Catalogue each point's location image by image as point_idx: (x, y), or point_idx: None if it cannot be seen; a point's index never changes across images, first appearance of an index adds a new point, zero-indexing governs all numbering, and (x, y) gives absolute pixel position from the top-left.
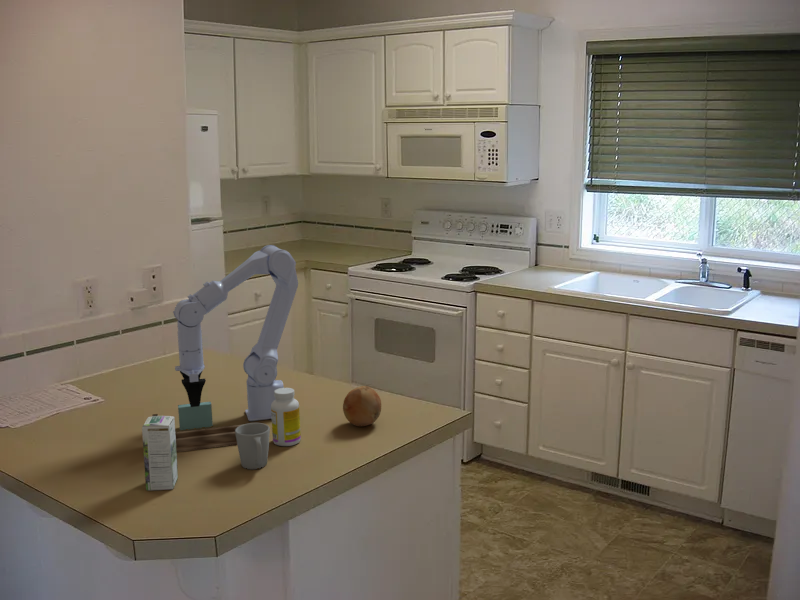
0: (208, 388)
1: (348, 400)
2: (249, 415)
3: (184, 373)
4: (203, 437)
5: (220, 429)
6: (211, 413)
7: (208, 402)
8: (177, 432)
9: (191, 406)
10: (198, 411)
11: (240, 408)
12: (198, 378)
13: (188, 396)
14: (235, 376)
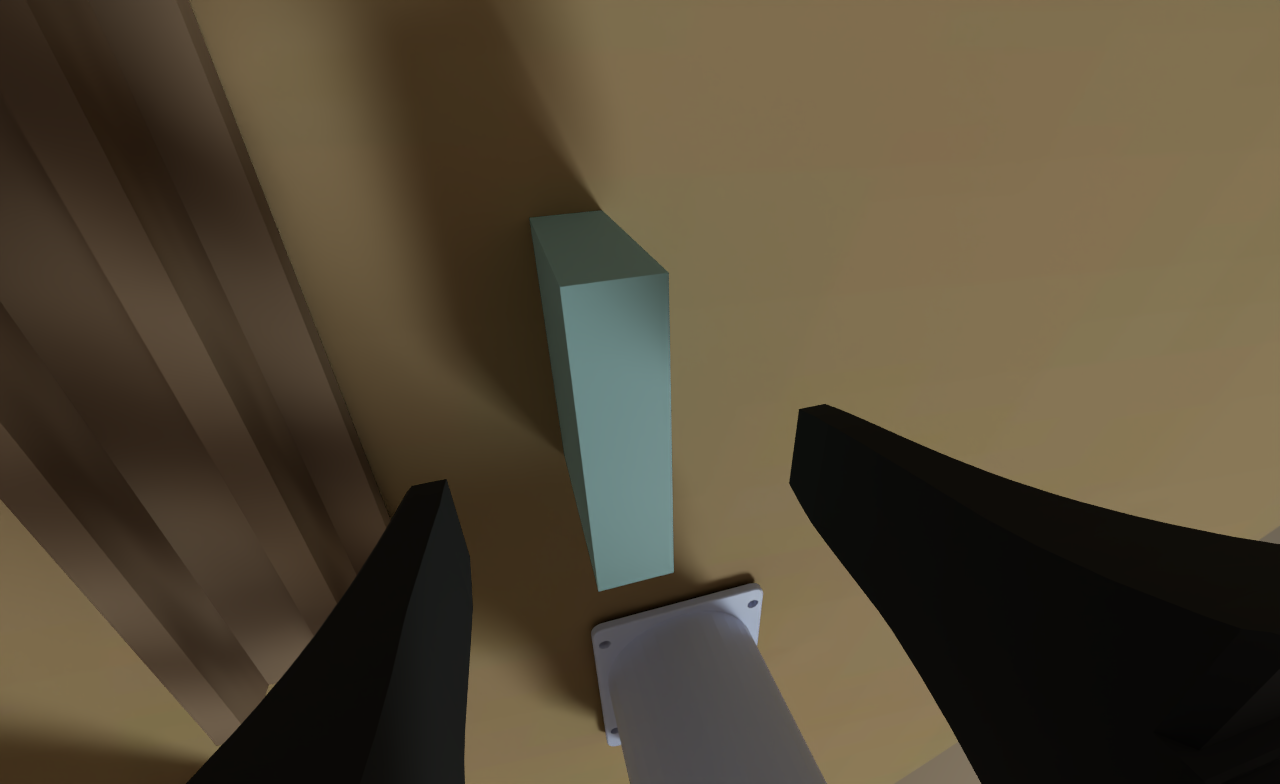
0: (1202, 352)
1: None
2: (659, 624)
3: (1147, 662)
4: (18, 514)
5: (293, 589)
6: (581, 521)
7: (654, 561)
8: (134, 242)
9: (404, 498)
10: (574, 453)
11: (817, 547)
12: (941, 692)
13: (328, 619)
14: (1238, 458)
